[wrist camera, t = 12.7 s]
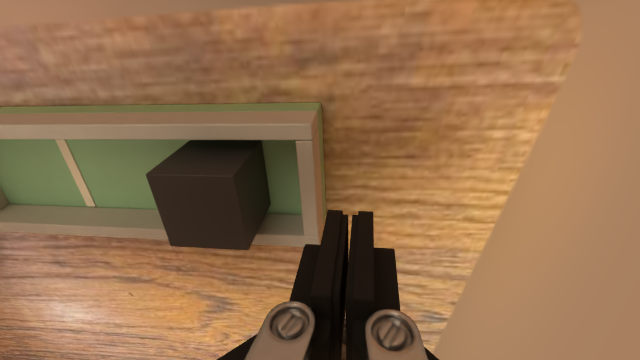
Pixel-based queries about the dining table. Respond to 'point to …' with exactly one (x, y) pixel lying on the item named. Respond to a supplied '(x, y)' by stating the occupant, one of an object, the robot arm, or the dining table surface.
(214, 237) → the dark brown cube
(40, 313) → the dining table surface
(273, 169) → the green beige rectangular tray
